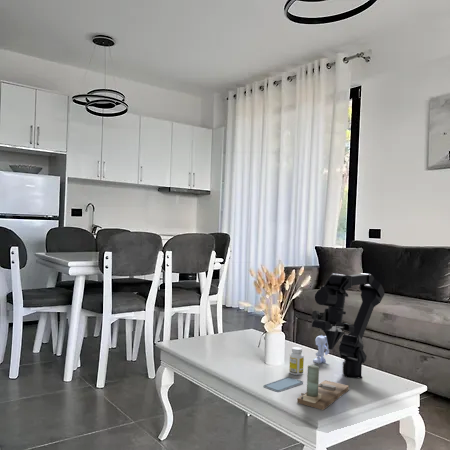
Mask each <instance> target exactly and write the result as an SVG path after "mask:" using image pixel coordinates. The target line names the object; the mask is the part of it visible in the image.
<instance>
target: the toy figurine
mask: <svg viewBox="0 0 450 450" xmlns="http://www.w3.org/2000/svg"><path fill="white" fill-rule="evenodd" d="M314 340H315V345H316V346H317V349H318V350H317V352H316V353H315V356H316V358H313V360H312V362H313V363H316V364H322V363H323V364H324V363H325V364H326V363H327V360H326V358H325V356H326V355H329V354H330V349H329V348H328V342H327V337H326V335H323V334H320V335H318V336H316V338H315V339H314ZM324 355H325V356H324Z"/></svg>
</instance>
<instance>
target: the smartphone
mask: <svg viewBox="0 0 450 450" xmlns="http://www.w3.org/2000/svg"><path fill="white" fill-rule="evenodd" d="M303 384H304V381H303V380H299V379H297V378H293V377H290V376H287V377H284V378H280V379H278V380H275V381H272V382H269V383H267V384H264V385H263V389H267V390H270V391H272V392H277V393H280V392H283V391H287V390H289V389H292V388H296V387H298V386H301V385H303Z"/></svg>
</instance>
